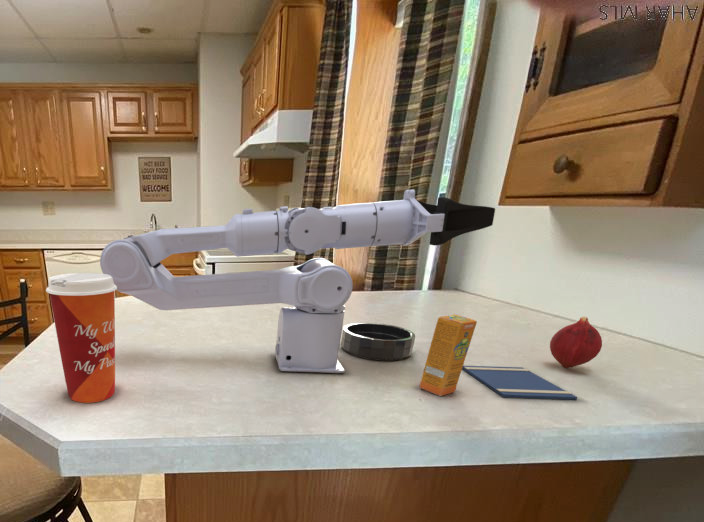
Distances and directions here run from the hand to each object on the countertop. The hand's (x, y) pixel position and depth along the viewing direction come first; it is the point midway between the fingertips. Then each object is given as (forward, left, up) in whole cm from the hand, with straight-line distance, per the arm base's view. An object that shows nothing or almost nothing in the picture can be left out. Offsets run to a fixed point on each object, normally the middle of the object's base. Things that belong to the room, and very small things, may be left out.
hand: (475, 216), depth 56 cm
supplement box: (-4, -9, -22) cm, 24 cm away
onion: (+20, +2, -22) cm, 30 cm away
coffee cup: (-50, -14, -22) cm, 56 cm away
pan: (-7, +8, -22) cm, 24 cm away
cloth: (+8, -5, -22) cm, 24 cm away
